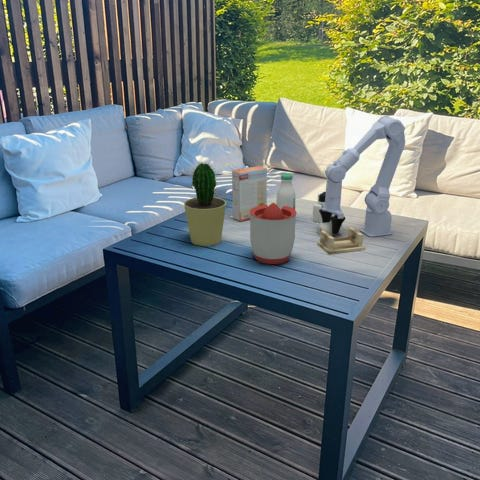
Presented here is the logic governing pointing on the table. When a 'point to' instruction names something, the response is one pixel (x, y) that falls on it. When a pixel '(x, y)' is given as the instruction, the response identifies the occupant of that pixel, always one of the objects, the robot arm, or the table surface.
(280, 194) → the milk bottle
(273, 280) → the table surface
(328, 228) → the roll
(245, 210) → the cracker box
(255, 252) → the citrus juicer
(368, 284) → the table surface
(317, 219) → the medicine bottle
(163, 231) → the table surface
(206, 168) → the potted cactus
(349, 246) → the beige wooden frame
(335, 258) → the table surface
